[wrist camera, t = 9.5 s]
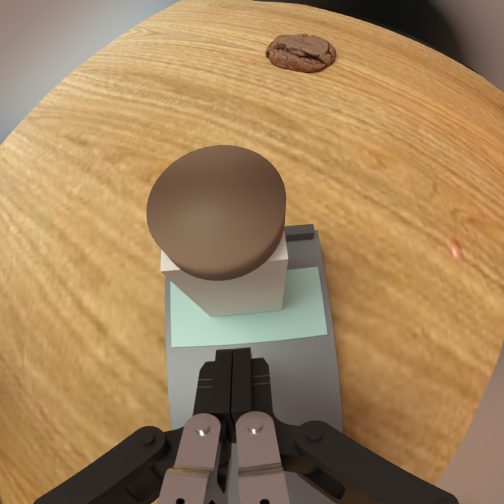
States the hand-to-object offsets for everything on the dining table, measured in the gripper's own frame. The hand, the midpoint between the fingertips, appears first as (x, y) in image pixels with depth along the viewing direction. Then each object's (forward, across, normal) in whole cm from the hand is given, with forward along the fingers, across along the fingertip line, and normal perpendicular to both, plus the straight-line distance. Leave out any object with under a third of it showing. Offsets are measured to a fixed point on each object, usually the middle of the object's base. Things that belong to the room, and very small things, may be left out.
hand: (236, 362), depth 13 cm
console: (+5, 0, +10) cm, 11 cm away
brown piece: (+9, 0, +1) cm, 9 cm away
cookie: (+36, -11, -20) cm, 43 cm away
